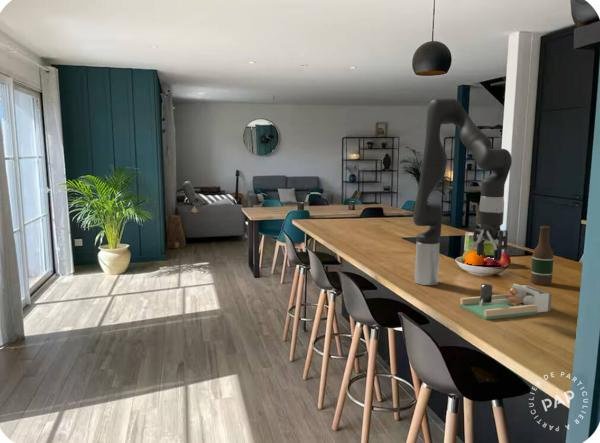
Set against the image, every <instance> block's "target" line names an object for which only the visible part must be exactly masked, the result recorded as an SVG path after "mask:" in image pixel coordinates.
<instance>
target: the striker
mask: <svg viewBox="0 0 600 443" xmlns="http://www.w3.org/2000/svg"><path fill="white" fill-rule="evenodd" d="M517 293H518V290H517V289H516V288H514V287H513V286H512V287H511V288H510V289H509V292H507V293H505V294H506V298H504V299H494V300H492V295H493V284H491V283H481V284H480V302H479V305H481V306H488V305H498V304H508V303H509V304H511V305H514V306H520V304H521V303H520V298H521V297H519V296H517V295H516V294H517Z"/></svg>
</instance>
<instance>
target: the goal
mask: <svg viewBox="0 0 600 443" xmlns="http://www.w3.org/2000/svg"><path fill="white" fill-rule="evenodd" d="M513 287H514V288H516V289H517V290H518V293H517V294H516V295H517V296H519V297H521V298H520V304H524V303H523V299H524V298H525V297H526V296H532V297H534V302H533V304H536V305H538V309H537V313H545V312H551V311H552V310H551V309H552V297H553V296H552V295H553V294H552V293H550V292H548V291H545V290H542V289H539V288H536V287H533V286H530V285H528V284H527V285H521V284H517V283H513V284H512V288H513Z"/></svg>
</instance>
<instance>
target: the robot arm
mask: <svg viewBox="0 0 600 443" xmlns="http://www.w3.org/2000/svg"><path fill="white" fill-rule="evenodd" d="M450 124H453V125H454V126H456V127H457V128H458V129H459V138H460V140H461V143H462V144H463V145H464V147H465V148H466V149H467V150H468V151H469V152H470V153H471V154H472V156H473V159H474V161H475V164H476V165H477V166H478V168H480V169H481V170H484V171H485V172H489V171H492V172H491V174H490V176H489V177H486V178H484V179H482V181H481V188H480V199H479V200H480V201H479V208H478V224H477V223H476V224H474V226H473V232H474V234H473V241H475V242H476V244H477V255H479V256H480V255H484V243H485V241H486V240H488V241H490V242H491V244H493V246H494V248H495V250H494V261H499V262H500V261H501V259H502V251H503V250H507V249H508V230H506V229H503V230H501V226H502V225H503V224H504V212H505V198H504V197H505V187H506V186H505V185H506V181H507V179H508V176H509V173H510V171H511V170H510V169H511V167H512V163H513V162H512V160H513V158H512V155H511V152H510V151H509V150H508V149H506V148H492V141H491V139H490V138H489V137H488V136H487V135H486V134H485V133H484V132H483V131H481V130H480V128H478V126H477V125H476V124H475V123H474V122H473V120H472V119H471V117H470V116H469V114H468V113H467V111H466V110H465V108H464V107H463V105H462V104H461V103H460V101H458V99H456V98H450V97H449V98H435V99H432V100H431V101H430V102H429V105H428V107H427V113H426V123H425V125H426V126H425V129H426V130H425V141H424V147H423V148H424V149H423V153H422V161H421V167H420V174H419V175H420V177H419V184H418V191H417V194H416V198H415V202H414V203H415V204H414V207H413V215H412V218H413V219H412V220H413V222H414V224H415V225H416V226H418V227H428V228H427V229H426V230H425V231H423V232H420V233H419V234H417V235H416V247H415V249H416V250H415V253H416V255H415V259H414V282H415V283H416V284H417V285H422V286H436V285H438V284H439V266H440V243H441V240H440V239H441V236H442V223H443V207H442V205H440V203H436V202H435V203H431V202H429V203H427V202H428V199H429V198H430V196H431V193H432V192H433V191H434V189H436V187H437V186H438V185H439V184H440V183H441V181H442V180H443V178H444V177H445V175H446V169H447V163H448V156H447V154H446V150H445V149H444V146H443V144H442V141H441V135H440V134H441V126H442V125H450ZM477 235H478V238H477ZM496 239H497V240H496ZM497 244H498V246H497Z"/></svg>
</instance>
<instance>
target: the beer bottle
mask: <svg viewBox="0 0 600 443" xmlns="http://www.w3.org/2000/svg"><path fill="white" fill-rule="evenodd" d="M539 229H540V230H539V237H538V243H537V246H536V247H535V248H534V249H533V252H532V256H531V257H532V258H531V270H530V271H531V272H530V282H531V284H533V285H537V286H541V287H543V286H544V287H545V286H547V287H548V286H551V285H552V283H553V270H554V257H555V256H554V250H553V249H552V248H551V246H550V230H551V227H550V226H549V225H542V226H540V227H539Z"/></svg>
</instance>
